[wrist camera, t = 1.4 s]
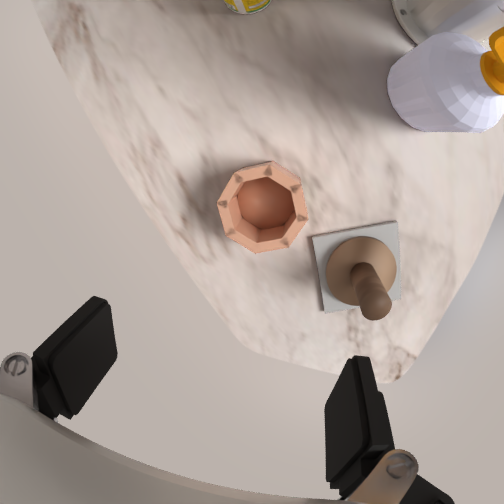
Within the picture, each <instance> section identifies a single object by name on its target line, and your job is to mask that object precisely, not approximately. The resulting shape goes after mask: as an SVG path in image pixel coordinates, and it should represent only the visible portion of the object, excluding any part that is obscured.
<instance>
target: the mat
mask: <svg viewBox="0 0 504 504" xmlns="http://www.w3.org/2000/svg"><path fill="white" fill-rule="evenodd" d="M358 236H369V237H373V238H376V239H378V240H380V241H382V242H383V243H384V244H385V245H386V246H387V247H388V248H389V249H390V250H391V252H392V253H393V255H394V257H395V260H396V265H397V273H396V278H395V281H394V283H393V285H392V287H391V289H390V290H389V291H388V292H387V293H388V295H389V297H390V299H391V301H393V300H398V299H401V265H400V246H399V232H398V222H397V221H392V222H387V223H381V224H376V225H370V226H365V227H359V228H354V229H348V230H343V231H337V232H332V233H326V234H321V235H316V236H312V240H313V245H314V250H315V256H316V262H317V267H318V273H319V279H320V285H321V292H322V298H323V304H324V311H325V313H331V312H337V311H343V310H348V309H353V308H359V307H360V306H352V305H348V304H345V303H343V302H341V301H339V300H338V299H337V298H336V297H335V296H334V295H333V294H332V293H331V291H330V289H329V287H328V284H327V279H326V266H327V262H328V259H329V257H330V255H331V254H332V252H333V251H334V250H335V249H336V248H337V247H338V246H339V245H340V244H341V243H343V242H344V241H346V240H348V239H351V238H354V237H358Z"/></svg>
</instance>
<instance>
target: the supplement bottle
mask: <svg viewBox="0 0 504 504" xmlns="http://www.w3.org/2000/svg"><path fill="white" fill-rule="evenodd" d="M224 2H225V4H226V5H227V7H228V8H229V9H231V10H232V11H234V12H236V13H240V14H253V13H256V12H259V11H261V10H263V9H264V8H266V7H267V6H268V5H269V4H270V2H271V0H224Z"/></svg>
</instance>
